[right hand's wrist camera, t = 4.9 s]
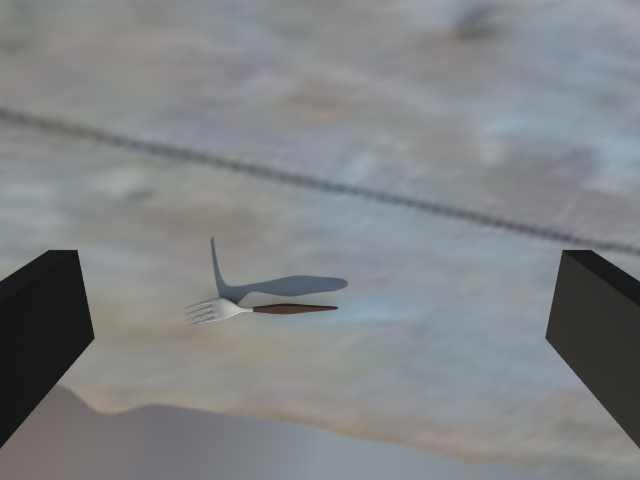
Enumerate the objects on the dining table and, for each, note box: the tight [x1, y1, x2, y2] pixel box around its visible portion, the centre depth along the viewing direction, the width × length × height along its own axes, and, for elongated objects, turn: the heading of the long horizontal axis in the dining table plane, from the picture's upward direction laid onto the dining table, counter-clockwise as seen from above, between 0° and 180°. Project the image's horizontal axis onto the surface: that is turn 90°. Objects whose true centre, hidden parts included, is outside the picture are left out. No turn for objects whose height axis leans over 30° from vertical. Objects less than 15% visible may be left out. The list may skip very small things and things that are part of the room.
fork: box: [184, 298, 338, 327], centre depth 48 cm, size 3×16×2 cm, turn 91°
